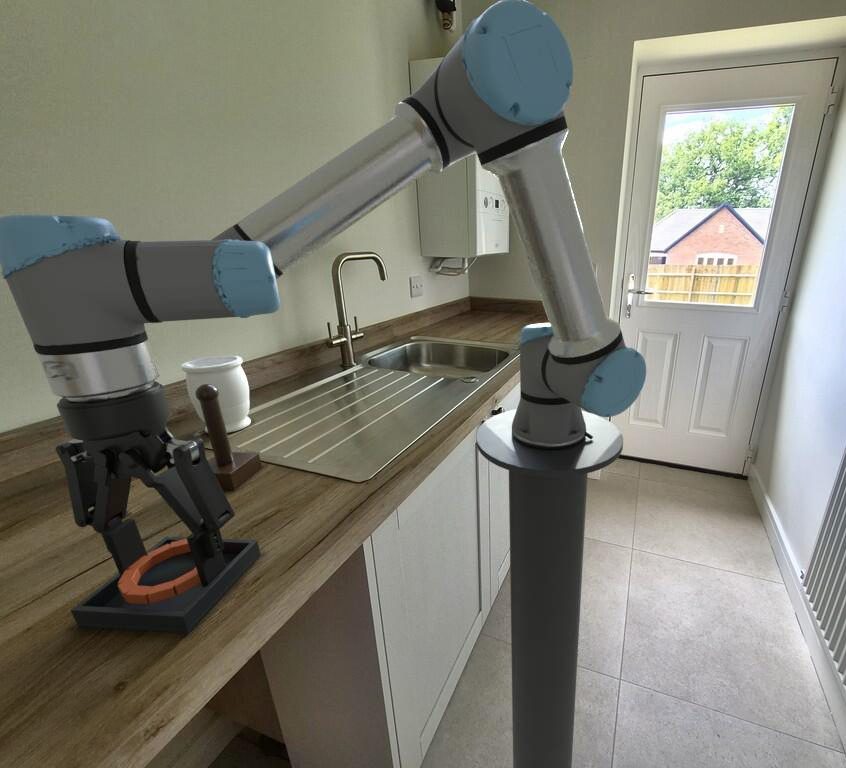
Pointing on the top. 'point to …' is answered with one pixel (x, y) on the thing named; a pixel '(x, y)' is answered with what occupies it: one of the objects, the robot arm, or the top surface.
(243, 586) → the top surface
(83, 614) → the tray
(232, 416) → the jar
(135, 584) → the ring
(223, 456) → the ring stand
